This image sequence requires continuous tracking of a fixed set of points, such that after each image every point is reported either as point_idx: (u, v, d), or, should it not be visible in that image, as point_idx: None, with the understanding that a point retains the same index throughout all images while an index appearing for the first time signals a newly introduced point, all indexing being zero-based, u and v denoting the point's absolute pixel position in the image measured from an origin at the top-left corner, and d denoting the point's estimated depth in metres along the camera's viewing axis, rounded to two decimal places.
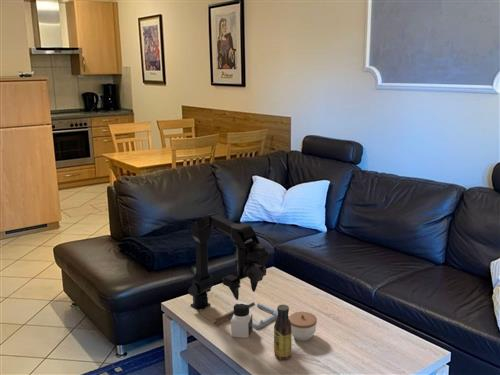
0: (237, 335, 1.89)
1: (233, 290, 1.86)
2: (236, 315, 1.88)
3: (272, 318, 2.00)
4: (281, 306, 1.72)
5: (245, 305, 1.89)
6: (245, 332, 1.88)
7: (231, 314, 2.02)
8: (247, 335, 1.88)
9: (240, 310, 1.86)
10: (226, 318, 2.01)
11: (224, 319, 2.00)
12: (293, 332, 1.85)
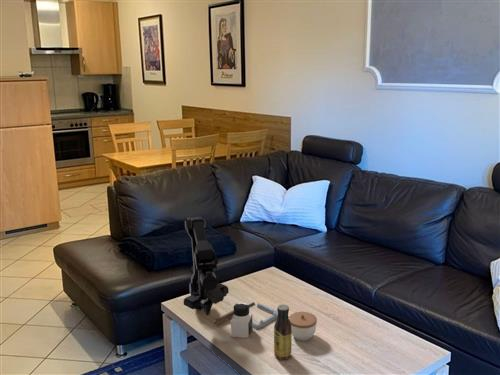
0: (237, 335, 1.89)
1: (203, 306, 1.92)
2: (236, 315, 1.88)
3: (272, 318, 2.00)
4: (281, 306, 1.72)
5: (245, 305, 1.89)
6: (245, 332, 1.88)
7: (231, 314, 2.02)
8: (247, 335, 1.88)
9: (240, 310, 1.86)
10: (226, 318, 2.01)
11: (224, 319, 2.00)
12: (293, 332, 1.85)
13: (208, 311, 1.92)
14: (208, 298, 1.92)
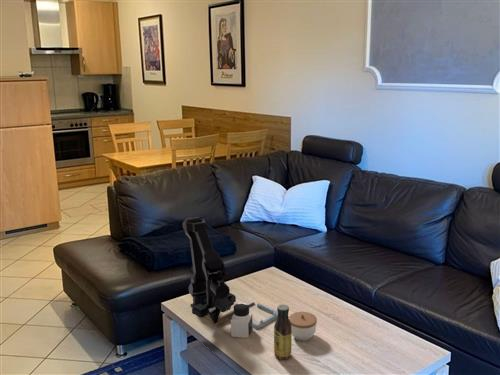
0: (237, 335, 1.89)
1: (211, 314, 1.96)
2: (236, 315, 1.88)
3: (272, 318, 2.00)
4: (281, 306, 1.72)
5: (245, 305, 1.89)
6: (245, 332, 1.88)
7: (231, 314, 2.03)
8: (247, 335, 1.88)
9: (240, 310, 1.86)
10: (226, 318, 2.01)
11: (224, 319, 2.00)
12: (293, 332, 1.85)
13: (216, 319, 1.96)
14: (216, 306, 1.96)
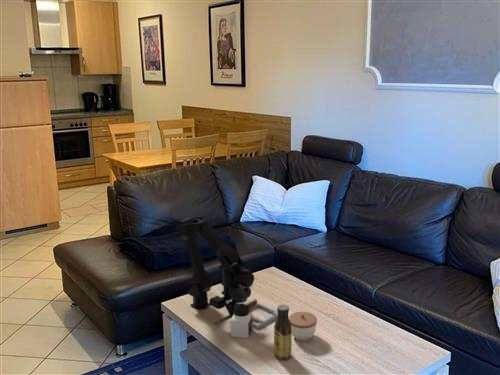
0: (237, 335, 1.89)
1: (227, 306, 2.02)
2: (236, 315, 1.88)
3: (272, 318, 2.00)
4: (281, 306, 1.72)
5: (245, 305, 1.89)
6: (245, 332, 1.88)
7: None
8: (247, 335, 1.88)
9: (240, 310, 1.86)
10: None
11: None
12: (293, 332, 1.85)
13: (232, 311, 2.02)
14: (232, 299, 2.02)
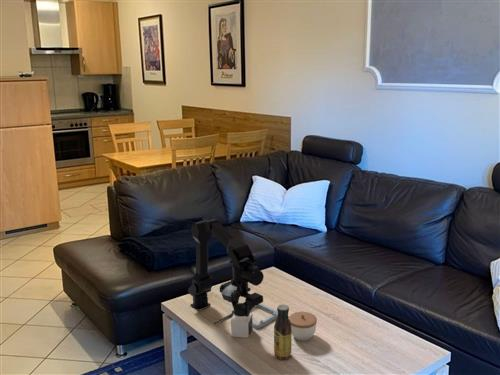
0: (237, 335, 1.89)
1: None
2: (236, 315, 1.88)
3: (272, 318, 2.00)
4: (281, 306, 1.72)
5: None
6: (245, 332, 1.88)
7: None
8: (247, 335, 1.88)
9: (240, 310, 1.86)
10: None
11: None
12: (293, 332, 1.85)
13: None
14: None
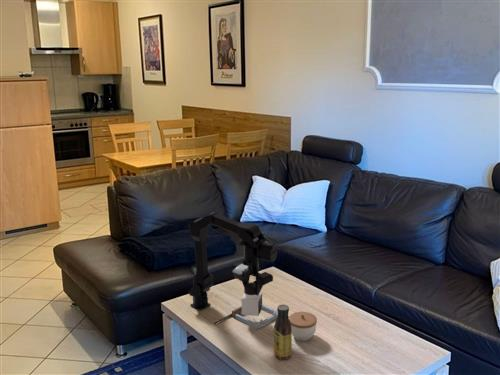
0: (247, 313, 1.96)
1: None
2: (246, 294, 1.95)
3: (272, 318, 2.00)
4: (281, 306, 1.72)
5: None
6: (255, 310, 1.95)
7: None
8: (257, 313, 1.95)
9: (250, 288, 1.94)
10: None
11: (240, 311, 2.06)
12: (293, 332, 1.85)
13: None
14: None
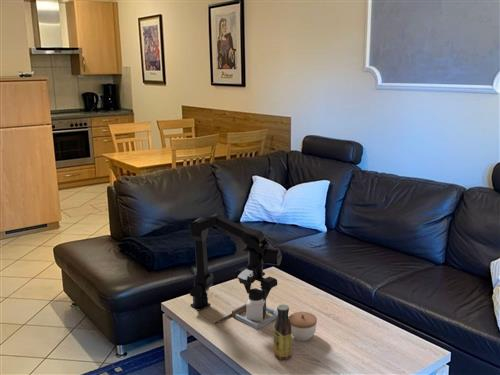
0: (252, 318, 2.01)
1: None
2: (251, 299, 2.00)
3: (272, 318, 2.00)
4: (281, 306, 1.72)
5: (259, 290, 2.01)
6: (260, 316, 2.00)
7: None
8: (261, 318, 2.00)
9: (255, 294, 1.98)
10: (242, 310, 2.07)
11: (240, 311, 2.06)
12: (293, 332, 1.85)
13: None
14: None
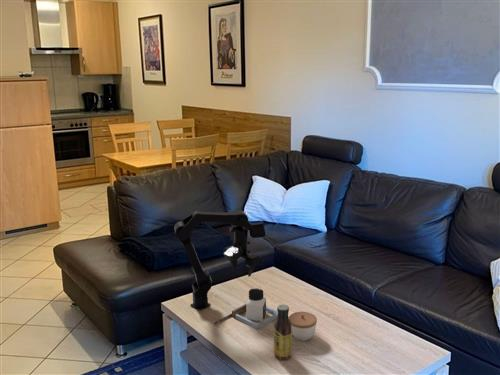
0: (252, 318, 2.01)
1: None
2: (251, 299, 2.00)
3: (272, 318, 2.00)
4: (281, 306, 1.72)
5: (259, 290, 2.01)
6: (260, 316, 2.00)
7: None
8: (261, 318, 2.00)
9: (255, 294, 1.98)
10: (242, 310, 2.07)
11: (240, 311, 2.06)
12: (293, 332, 1.85)
13: None
14: None
